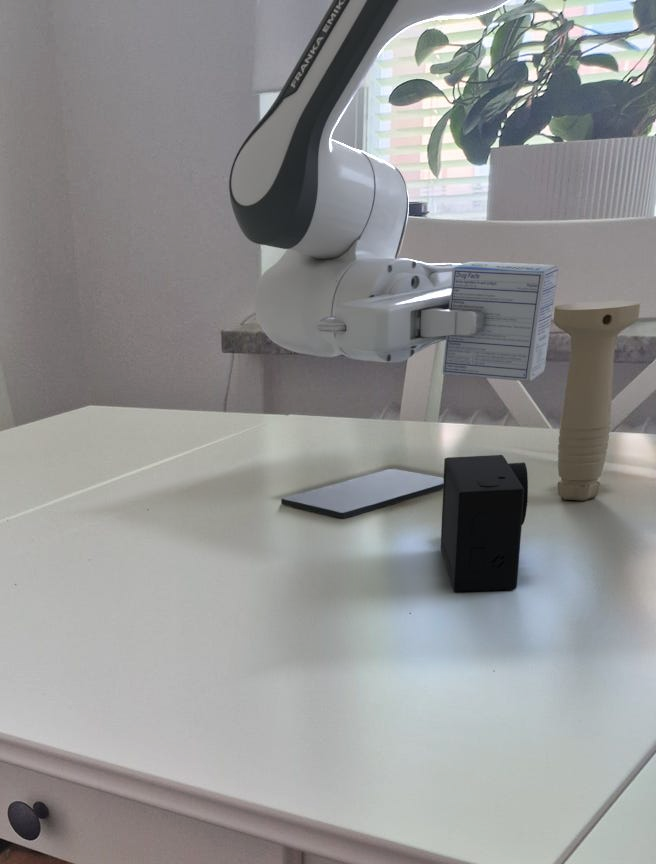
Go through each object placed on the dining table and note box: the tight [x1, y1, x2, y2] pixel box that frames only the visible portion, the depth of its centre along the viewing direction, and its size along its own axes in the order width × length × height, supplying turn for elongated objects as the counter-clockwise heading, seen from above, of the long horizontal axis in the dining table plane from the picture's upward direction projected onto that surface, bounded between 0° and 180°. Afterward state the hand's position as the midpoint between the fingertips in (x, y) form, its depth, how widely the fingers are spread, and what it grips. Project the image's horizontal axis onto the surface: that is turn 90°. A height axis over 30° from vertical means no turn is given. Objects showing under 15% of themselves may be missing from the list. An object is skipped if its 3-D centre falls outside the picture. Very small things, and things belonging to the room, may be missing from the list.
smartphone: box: [280, 467, 444, 520], centre depth 105 cm, size 14×8×1 cm, turn 127°
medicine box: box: [442, 261, 559, 383], centre depth 100 cm, size 8×4×9 cm, turn 59°
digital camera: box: [440, 454, 529, 593], centre depth 83 cm, size 10×5×7 cm, turn 174°
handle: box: [553, 299, 641, 502], centre depth 96 cm, size 5×6×15 cm
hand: (505, 317), depth 99 cm, fingers closed on medicine box, 5 cm apart
